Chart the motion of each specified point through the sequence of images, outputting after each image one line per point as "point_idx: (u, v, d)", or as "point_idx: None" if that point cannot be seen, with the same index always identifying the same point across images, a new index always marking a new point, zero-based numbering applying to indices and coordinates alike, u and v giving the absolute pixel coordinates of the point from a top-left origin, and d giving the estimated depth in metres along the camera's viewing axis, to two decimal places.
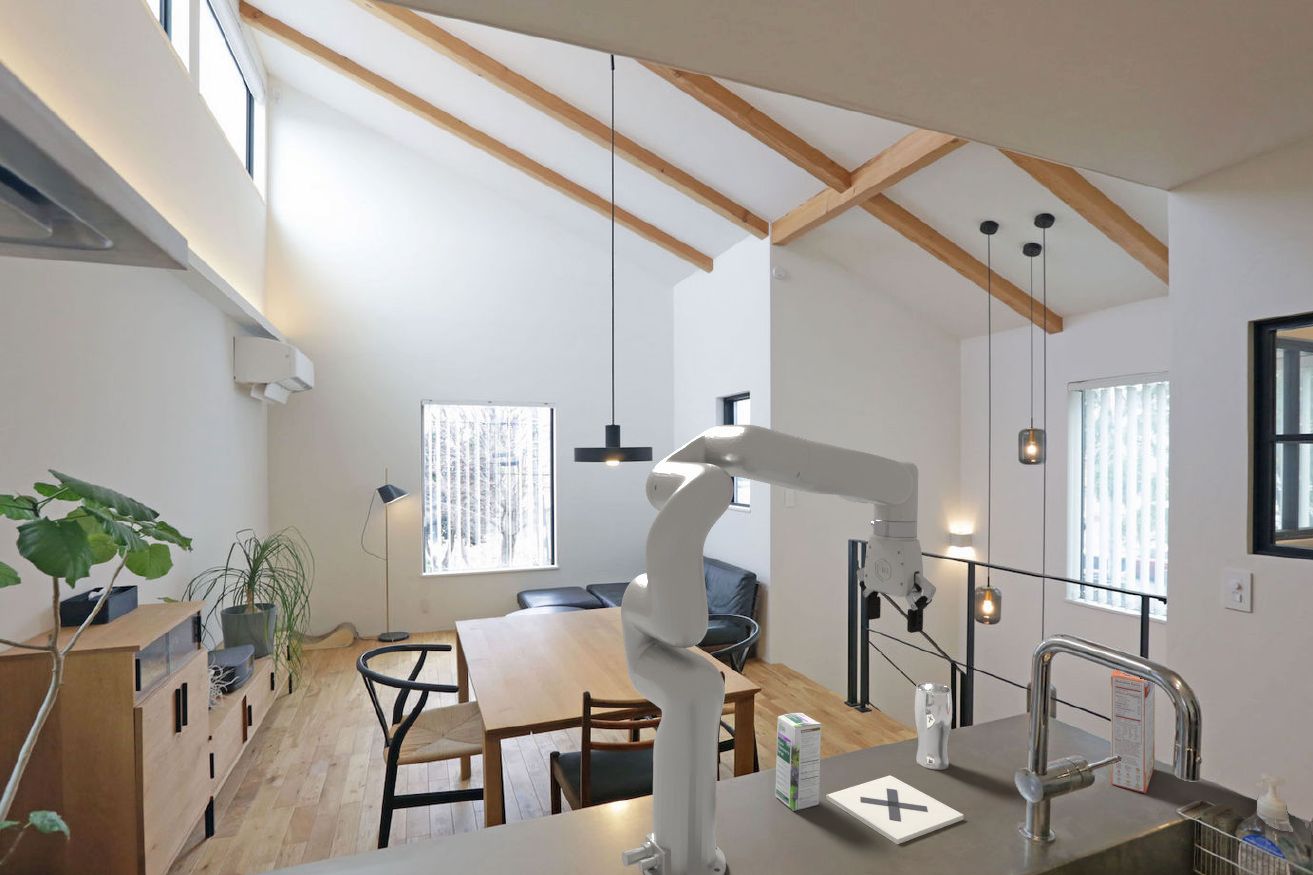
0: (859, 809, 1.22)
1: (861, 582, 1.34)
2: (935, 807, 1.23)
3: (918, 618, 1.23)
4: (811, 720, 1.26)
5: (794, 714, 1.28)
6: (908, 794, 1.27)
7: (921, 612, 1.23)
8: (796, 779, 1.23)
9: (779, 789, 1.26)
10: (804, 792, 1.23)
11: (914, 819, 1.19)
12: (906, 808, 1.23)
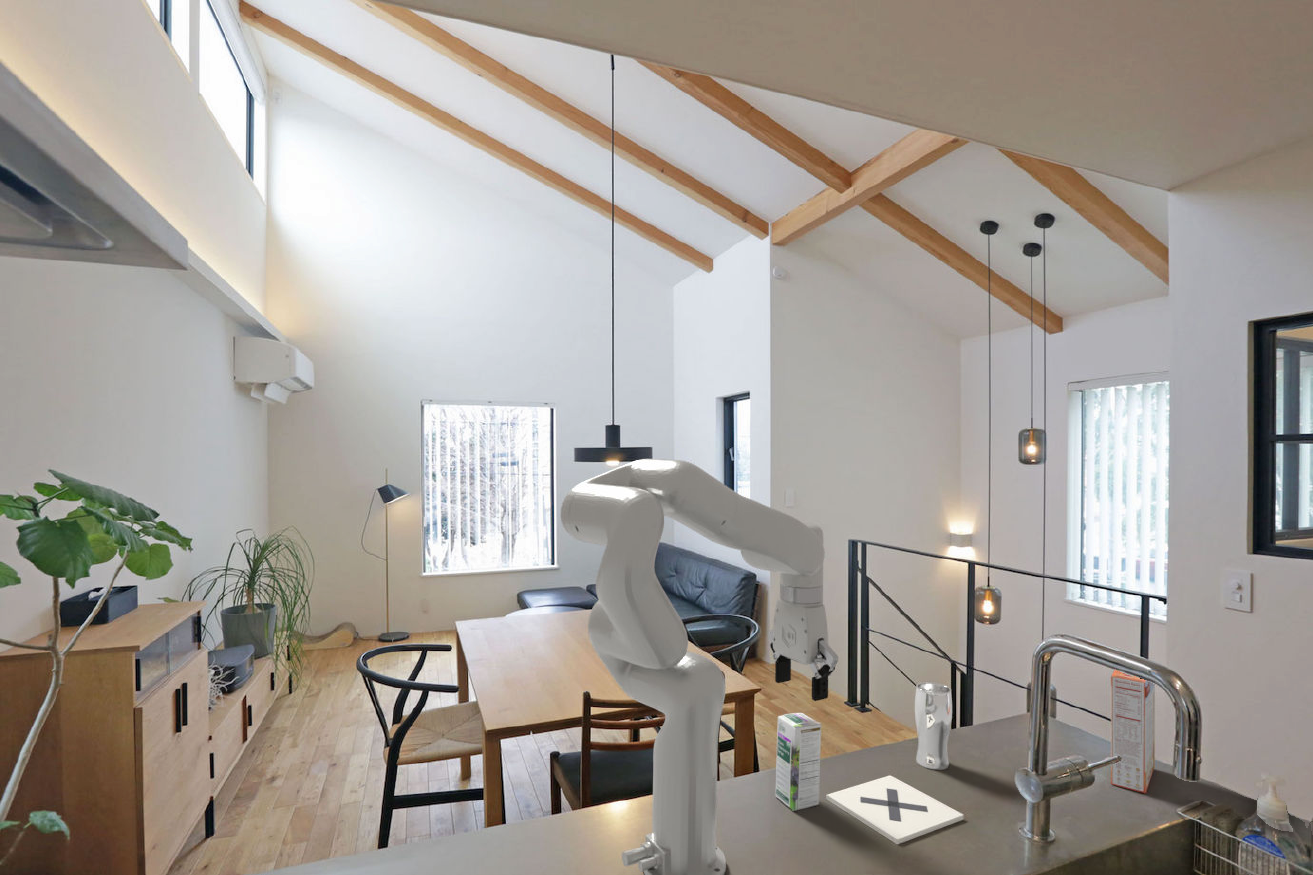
0: (859, 809, 1.22)
1: (772, 644, 1.32)
2: (935, 807, 1.23)
3: (822, 686, 1.21)
4: (811, 720, 1.26)
5: (794, 714, 1.28)
6: (908, 794, 1.27)
7: (825, 680, 1.22)
8: (796, 779, 1.23)
9: (779, 789, 1.26)
10: (804, 792, 1.23)
11: (914, 819, 1.19)
12: (906, 808, 1.23)
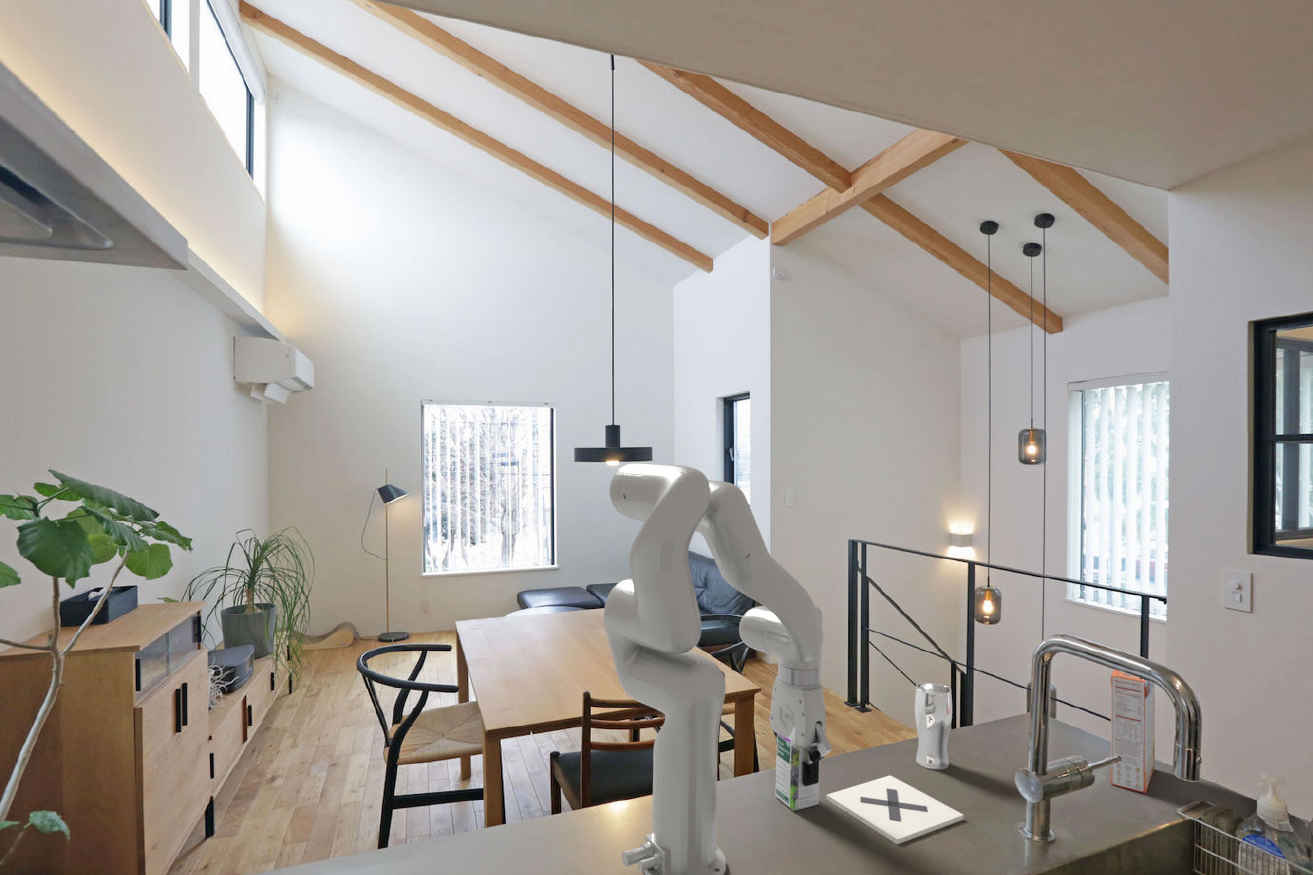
0: (859, 809, 1.22)
1: None
2: (935, 807, 1.23)
3: (813, 771, 1.22)
4: None
5: None
6: (908, 794, 1.27)
7: (816, 765, 1.23)
8: (796, 778, 1.23)
9: (779, 789, 1.26)
10: (804, 791, 1.23)
11: (914, 819, 1.19)
12: (906, 808, 1.23)
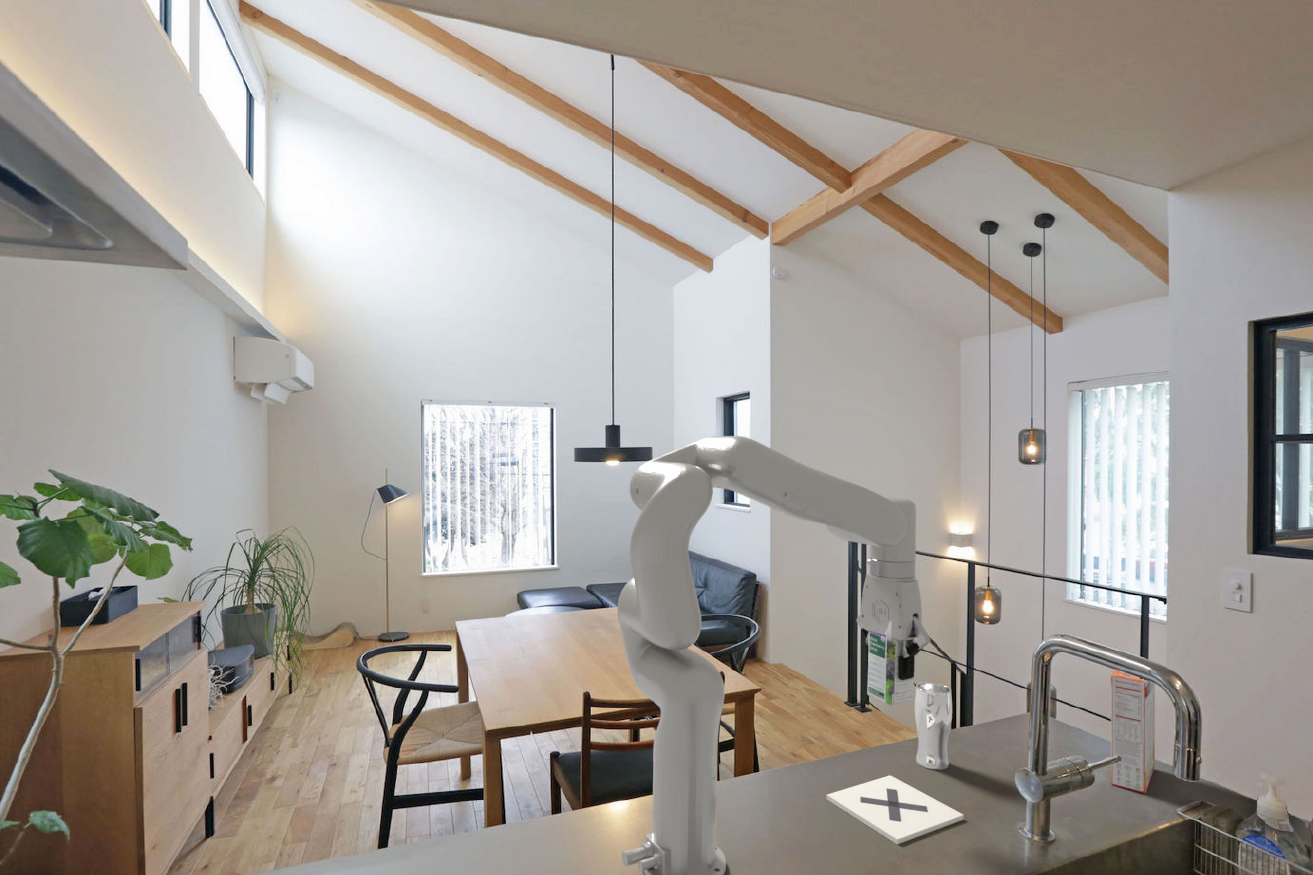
0: (859, 809, 1.22)
1: (864, 628, 1.28)
2: (935, 807, 1.23)
3: (909, 665, 1.20)
4: None
5: None
6: (908, 794, 1.27)
7: (912, 659, 1.21)
8: (893, 672, 1.21)
9: (872, 686, 1.24)
10: (899, 686, 1.21)
11: (914, 819, 1.19)
12: (906, 808, 1.23)
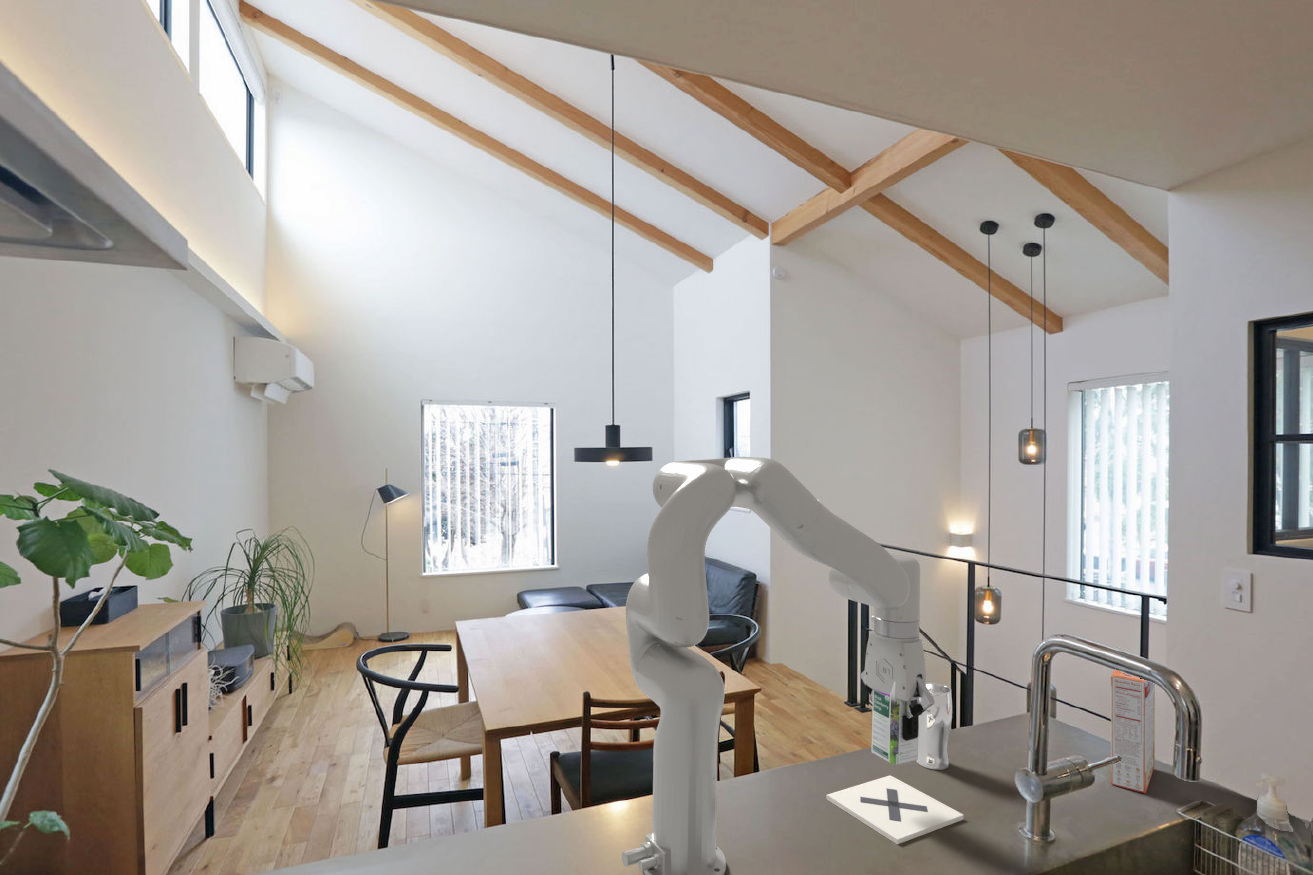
0: (859, 809, 1.22)
1: None
2: (935, 807, 1.23)
3: (913, 725, 1.20)
4: None
5: None
6: (908, 794, 1.27)
7: (916, 719, 1.20)
8: (897, 733, 1.20)
9: (876, 745, 1.24)
10: (904, 746, 1.21)
11: (914, 819, 1.19)
12: (906, 808, 1.23)
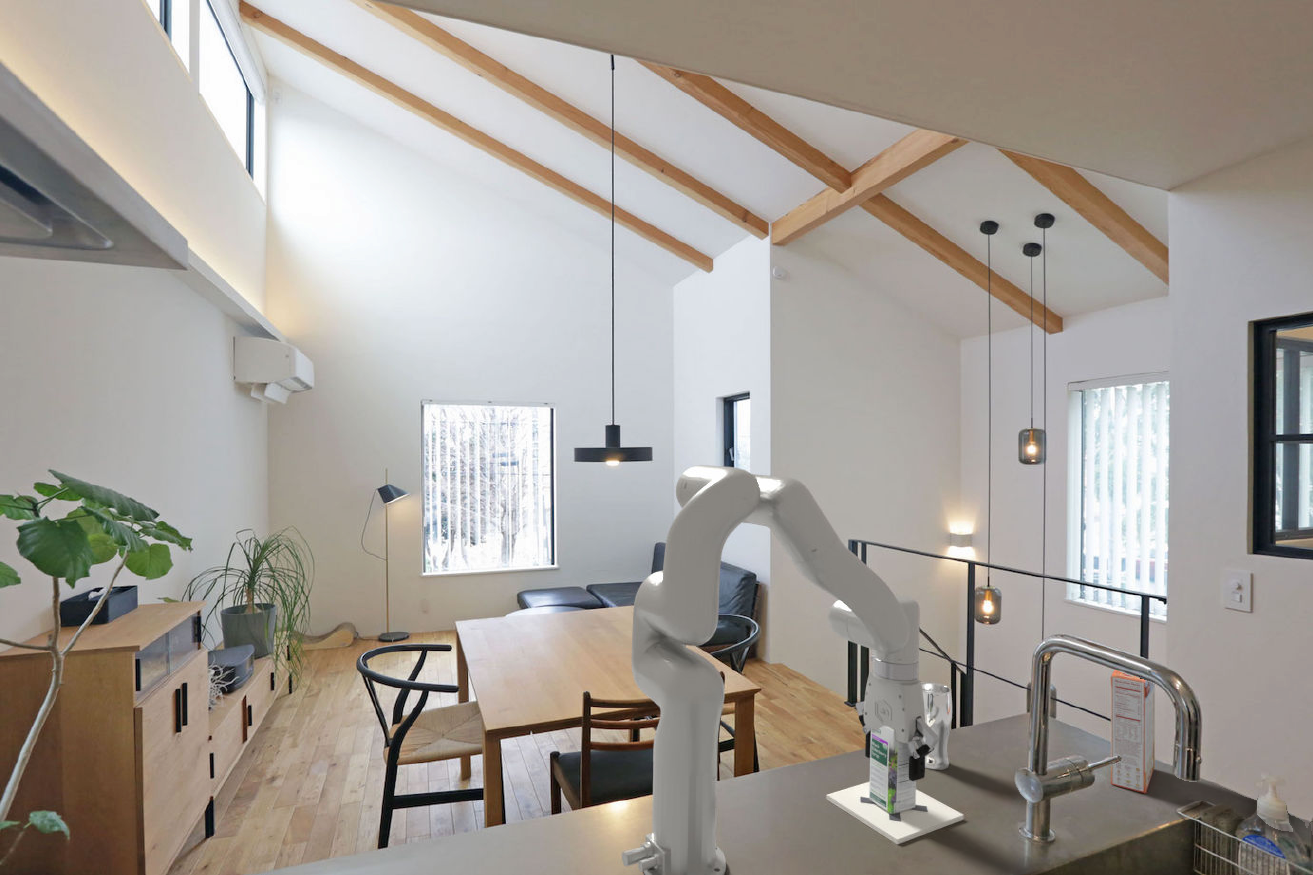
0: (859, 809, 1.22)
1: (860, 716, 1.30)
2: (935, 807, 1.23)
3: (920, 766, 1.19)
4: None
5: None
6: None
7: (923, 759, 1.19)
8: (895, 781, 1.20)
9: (874, 792, 1.24)
10: (901, 794, 1.21)
11: (914, 819, 1.19)
12: None
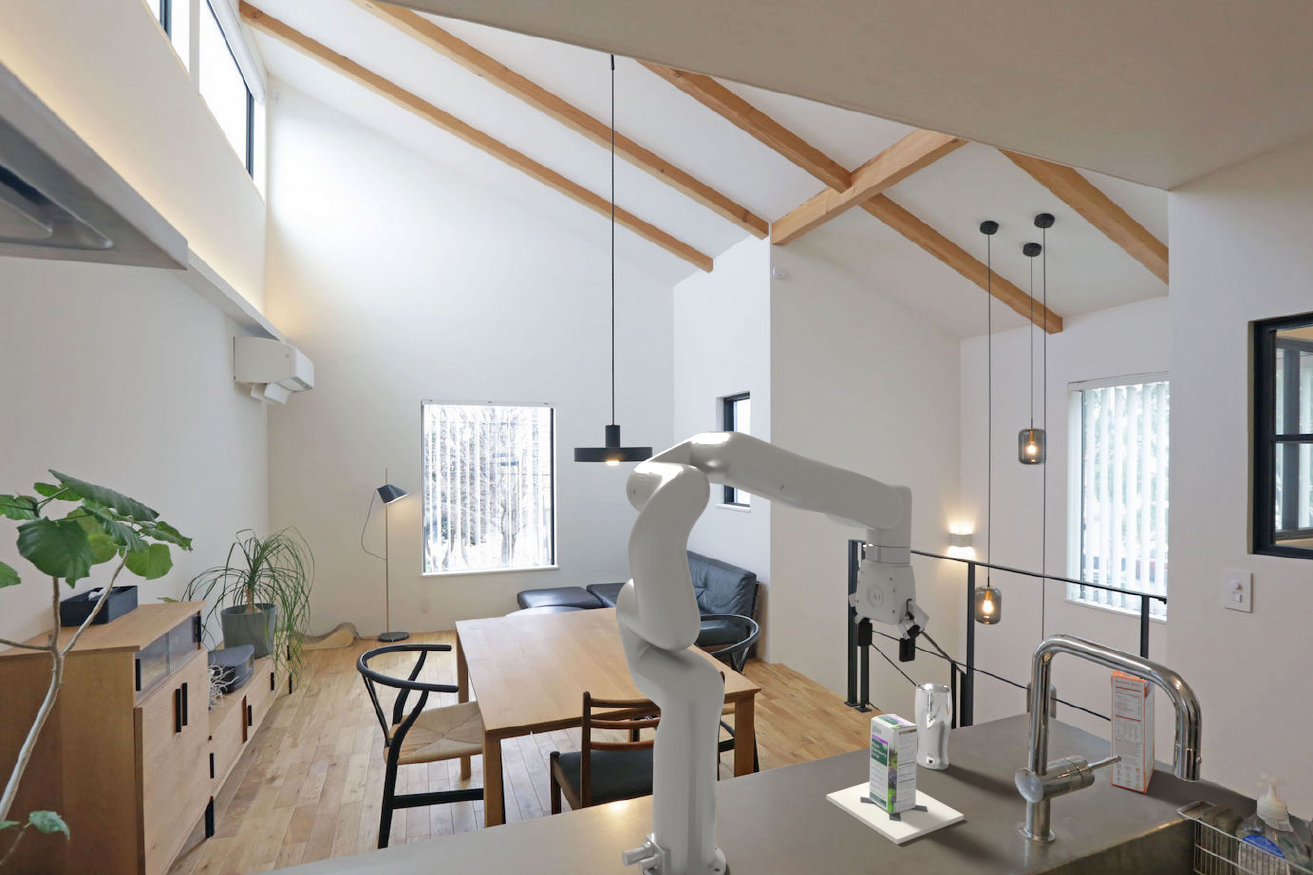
0: (859, 809, 1.22)
1: (853, 607, 1.30)
2: (935, 807, 1.23)
3: (910, 647, 1.19)
4: (906, 721, 1.24)
5: (887, 715, 1.26)
6: None
7: (913, 641, 1.19)
8: (895, 781, 1.20)
9: (874, 792, 1.24)
10: (901, 794, 1.21)
11: (914, 819, 1.19)
12: None
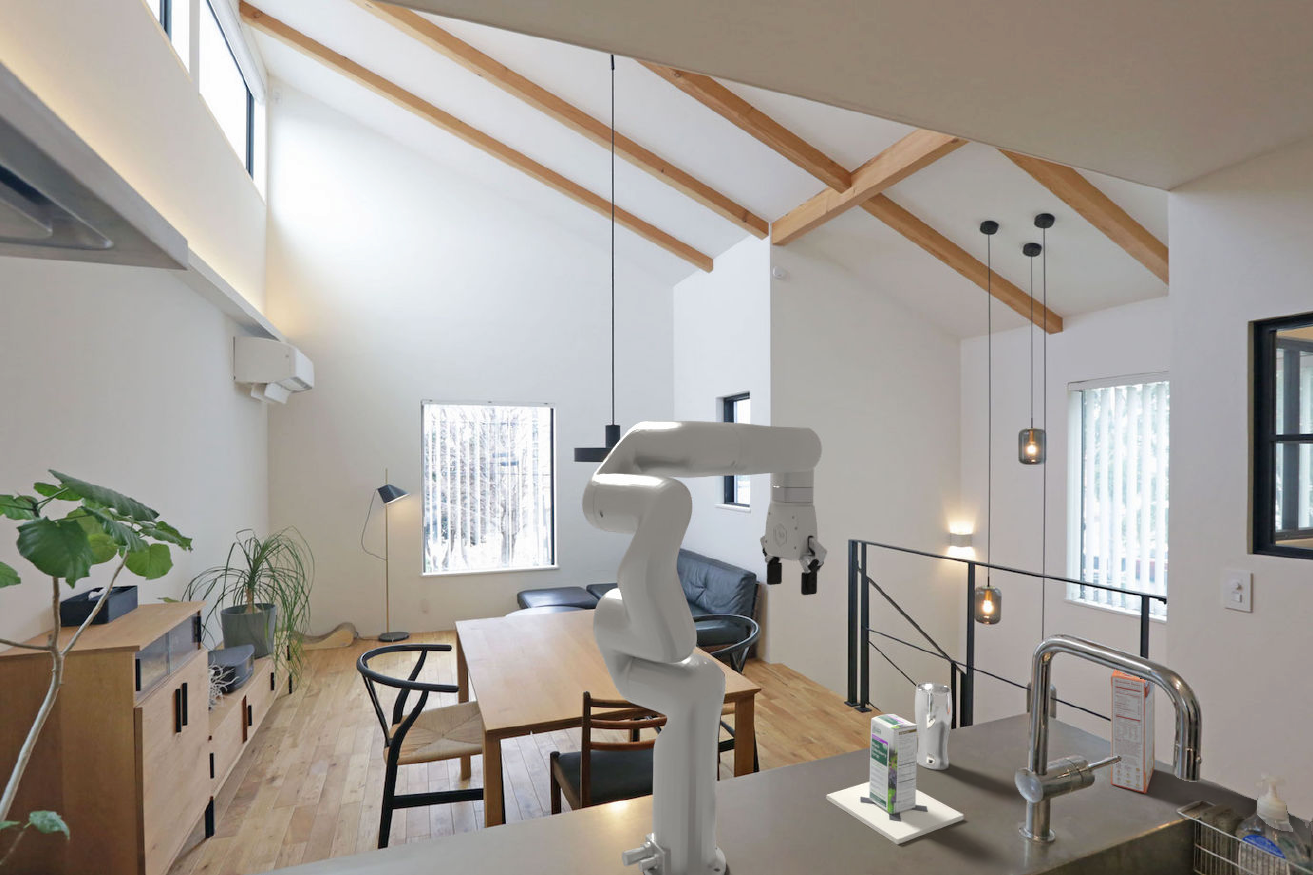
0: (859, 809, 1.22)
1: (764, 549, 1.37)
2: (935, 807, 1.23)
3: (811, 581, 1.26)
4: (906, 721, 1.24)
5: (887, 715, 1.26)
6: None
7: (814, 575, 1.27)
8: (895, 781, 1.20)
9: (874, 792, 1.24)
10: (901, 794, 1.21)
11: (914, 819, 1.19)
12: None
